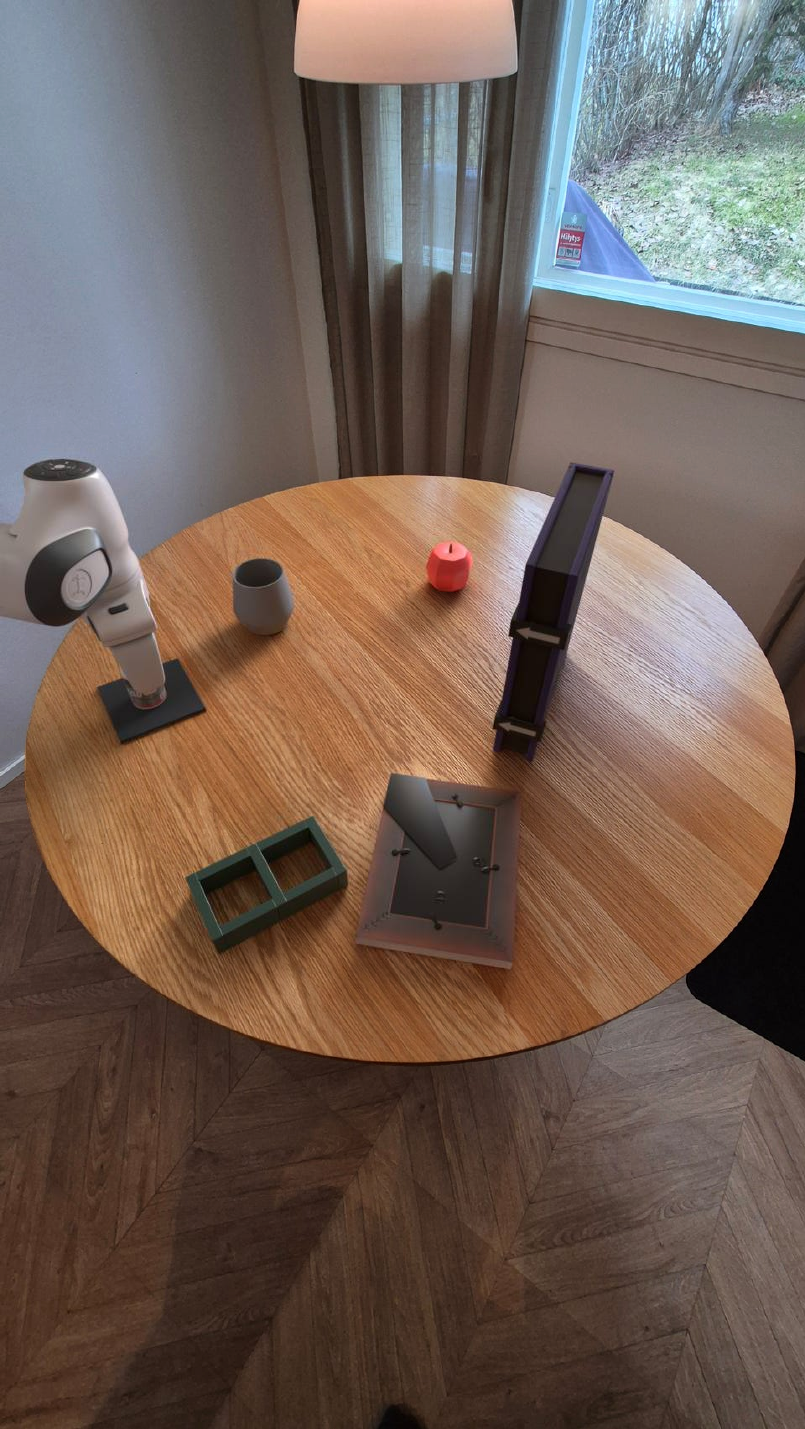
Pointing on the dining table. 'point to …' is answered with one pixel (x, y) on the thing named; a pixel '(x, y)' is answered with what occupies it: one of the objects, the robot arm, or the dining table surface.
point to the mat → (143, 721)
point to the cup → (262, 596)
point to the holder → (267, 883)
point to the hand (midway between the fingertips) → (140, 672)
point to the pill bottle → (141, 699)
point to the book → (549, 606)
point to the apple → (449, 566)
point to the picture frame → (444, 872)
